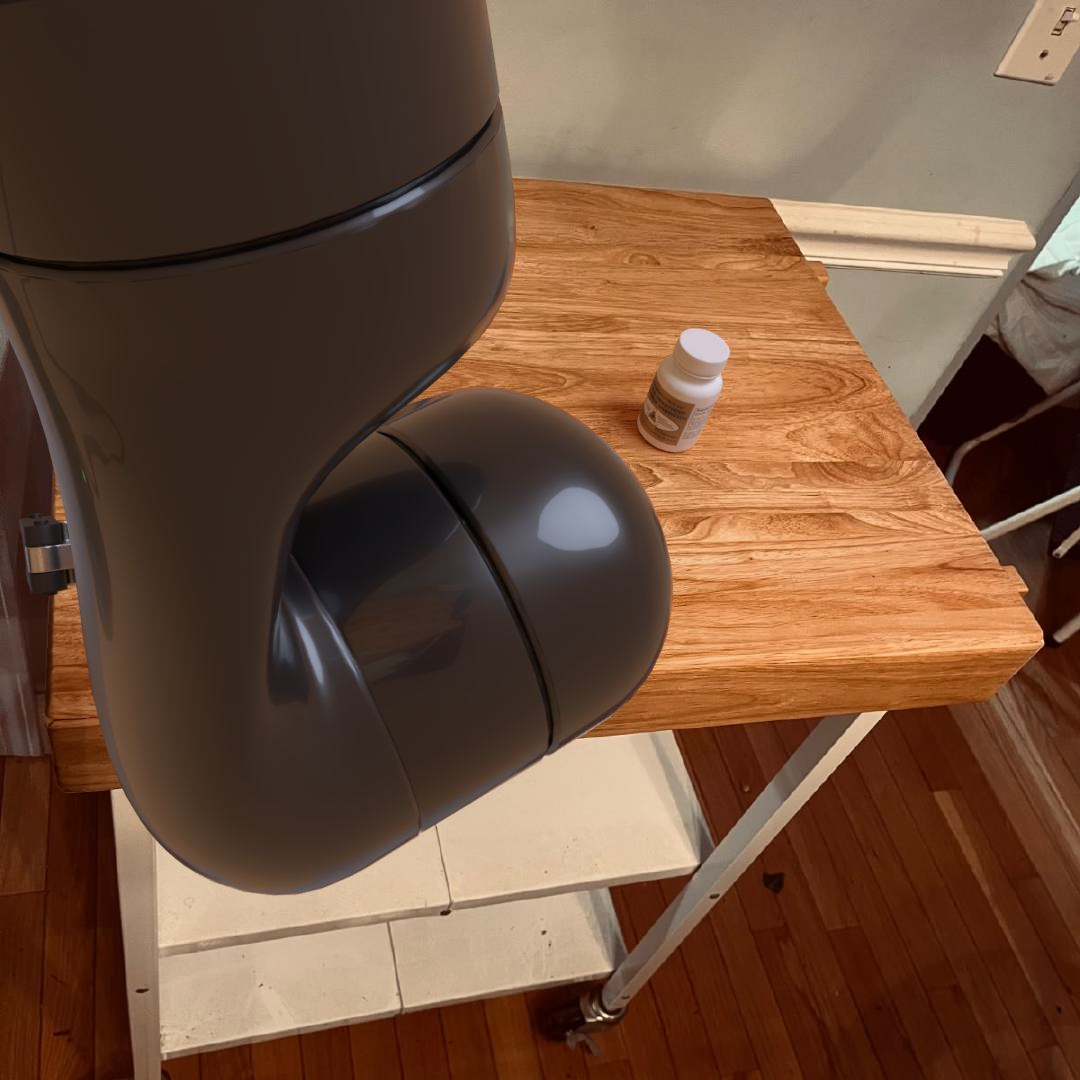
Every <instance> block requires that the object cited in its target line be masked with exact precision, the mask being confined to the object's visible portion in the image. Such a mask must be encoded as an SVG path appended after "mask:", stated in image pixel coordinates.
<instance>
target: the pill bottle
mask: <svg viewBox="0 0 1080 1080" xmlns="http://www.w3.org/2000/svg"><path fill="white" fill-rule="evenodd" d="M730 354H731V351H730V347H729V345H728V343H727V342H726V341H725V340H724V339H723V338H722V337H721V336H720V335H718V334H716V333H715V332H713V331H710V330H707V329H704V328H699V327H697V328H694V327H693V328H687V329H685V330H683V331H682V332H681V333H680V335H679V336H678V338H677V340H676V343H675V345H674V347H673V351H672V353H671V354H667V356H665V357H664V358H663V359H662V360H661V361H660V364H659V365H658V367H657V369H656V372H655V374H654V377H653V379H652V382H651V385H650V386H649V389H648V391H647V394H646V397H645V399H644V400H643V403H642V406H641V409H640V411H639V413H638V415H637V420H636V425H637V429H638V431H639V433H640V434H641V436H642V437H643V438H644V440H646V442H648V444H651V445H652V446H653V447H655V448H657V449H659V450H662V451H665V452H668V453H682V452H686V451H688V450H690V449H692V448H693V447H694V446H695V445H696V443H697V441H698V440H699V438H700V435H701V434H702V431H703V430H704V428H705V425H706V423H707V421H708V419H709V417H710V416H711V413H712V411H713V409H714V407H715V405H716V403H717V400H718V399H719V396H720V394H721V391H722V389H723V377H722V373H723V371H724V370H725V367H726V365H727V363H728V361H729V358H730Z"/></svg>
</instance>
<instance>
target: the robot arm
mask: <svg viewBox="0 0 1080 1080" xmlns="http://www.w3.org/2000/svg"><path fill="white" fill-rule="evenodd" d="M488 12H489V11H488V4H487V0H0V322H1V324H2V327H3V329H4V332H5V334H6V336H7V338H8V341H9V342H10V344H11V347H12V349H13V351H14V353H15V356H16V358H17V361H18V362H19V365H20V367H21V370H22V372H23V374H24V377H25V380H26V382H27V386H28V388H29V391H30V394H31V397H32V399H33V402H34V404H35V407H36V410H37V413H38V416H39V419H40V423H41V425H42V426H41V427H42V430H43V433H44V435H45V439H46V442H47V443H46V444H47V447H48V451H49V455H50V460H51V463H52V467H53V470H54V475H55V479H56V483H57V487H58V490H59V495H60V499H61V502H62V503H61V504H62V507H63V511H64V515H65V519H63V520H58V519H56V518H55V517H54V516H53V515H43V513H42V512H39V513H38V512H37V513H29V514H27V516H28V517H24V518H23V517H22V518H19V519H18V524H19V531H20V533H21V538H22V545H23V553H24V561H25V568H24V569H25V577H26V582H27V584H28V587H29V590H30V593H31V594H34V595H35V594H36V595H40V594H42V596H43V597H50V596H56V595H59V592H63V591H66V590H69V586H70V587H71V586H75V587H76V595H77V602H78V603H77V604H78V611H79V618H80V625H81V632H82V639H83V646H84V653H85V661H86V666H87V673H88V680H89V685H90V690H91V694H92V699H93V703H94V706H95V711H96V714H97V718H98V723H99V726H100V731H101V734H102V739H103V742H104V745H105V749H106V753H107V755H108V757H109V760H110V762H111V765H112V767H113V770H114V772H115V775H116V778H117V780H118V783H119V785H120V787H121V789H122V791H123V793H124V795H125V797H126V799H127V801H128V802H129V804H130V805H131V807H132V809H133V811H134V812H135V815H136V816H137V817H138V819H139V821H140V822H141V823H142V825H143V826H144V828H145V829H146V830H147V831H148V833H149V834H150V835H151V836H152V837H153V839H154V840H155V841H156V842H157V844H159V846H161V847H162V849H164V850H165V852H167V853H168V854H169V855H170V856H172V858H174V859H175V860H176V861H177V862H179V863H180V864H181V865H182V866H184V867H186V868H187V869H188V870H190V871H192V872H193V873H194V874H197V875H198V876H200V877H203V878H204V879H206V880H209V881H210V882H212V883H214V884H217V885H220V886H223V887H227V888H231V889H234V890H236V891H240V892H242V893H243V892H244V893H250V894H258V895H264V896H272V897H274V896H275V897H277V896H278V897H279V896H296V895H303V894H307V893H311V892H314V891H319V890H323V889H325V888H328V887H329V886H332V885H335V884H337V883H339V882H342V881H344V880H346V879H349V878H351V877H353V876H355V875H357V874H358V873H360V872H362V871H364V870H366V869H368V868H370V867H372V866H373V865H374V864H376V863H378V862H379V861H381V860H383V859H384V858H386V857H388V856H389V855H391V854H392V853H393V852H395V851H397V850H399V849H400V848H402V847H404V846H405V845H406V844H408V843H410V842H411V841H413V840H416V838H418V837H419V836H420V835H421V834H423V833H425V832H427V831H428V830H429V829H431V828H433V827H434V826H436V825H437V824H440V823H441V822H442V821H444V820H446V819H448V818H449V817H451V816H452V815H455V814H456V813H458V812H459V811H461V810H463V809H464V808H466V807H467V806H469V805H471V804H472V803H475V802H476V801H477V800H479V799H481V798H482V797H484V796H486V795H487V794H490V793H491V792H492V791H494V790H496V789H498V788H499V787H501V786H503V785H504V784H505V783H507V782H509V781H511V780H512V779H514V778H516V777H517V776H519V775H521V774H522V773H523V772H526V770H529V769H530V768H532V767H533V766H535V765H537V764H539V763H540V762H542V761H543V759H544V757H548V756H551V755H553V754H556V753H557V752H558V751H560V750H561V749H564V748H565V747H566V746H569V744H571V743H573V742H574V741H576V740H578V739H579V738H581V737H583V736H584V735H586V734H588V733H589V732H590V731H592V730H593V729H595V728H596V727H598V726H599V725H600V724H602V723H604V722H605V721H607V720H609V719H610V718H611V717H612V716H613V715H614V714H616V712H618V711H619V710H620V709H621V708H622V707H624V706H625V705H626V704H628V702H629V701H630V700H632V698H633V697H634V695H635V694H636V693H637V691H639V689H640V688H641V687H642V686H643V684H644V683H646V681H647V680H648V678H649V676H650V675H651V673H652V671H653V670H654V668H655V666H656V663H657V661H658V659H659V657H660V656H661V653H662V651H663V649H664V646H665V643H666V640H667V637H668V632H669V627H670V623H671V617H672V610H673V600H674V577H673V568H672V561H671V557H670V552H669V547H668V543H667V539H666V535H665V532H664V529H663V526H662V524H661V520H660V518H659V516H658V513H657V511H656V509H655V506H654V504H653V501H652V500H651V498H650V496H649V494H648V492H647V490H646V489H645V487H644V485H643V484H642V482H641V480H640V479H639V478H638V476H637V475H636V474H635V472H634V471H633V469H632V468H631V467H630V466H629V465H628V463H627V462H626V460H624V458H623V457H622V456H621V455H620V453H618V452H617V451H616V450H615V449H614V448H613V447H612V446H611V444H609V442H608V441H606V439H604V438H603V437H602V436H601V435H600V434H598V433H597V432H596V431H595V430H594V429H592V428H591V427H589V426H588V425H587V424H586V423H584V422H583V421H582V420H580V419H579V418H577V417H576V416H573V415H572V414H571V413H570V412H567V411H566V410H565V409H563V408H560V407H559V406H556V405H554V404H553V403H551V402H550V401H549V402H548V401H546V400H545V399H542V398H539V397H536V396H535V395H531V394H527V393H524V392H521V391H517V390H514V389H513V390H512V389H509V388H503V387H494V386H468V387H460V388H455V389H451V390H448V391H444V392H440V393H438V394H433V395H431V396H428V397H426V398H423V399H419V400H417V401H415V400H416V398H419V396H421V395H422V394H423V393H424V392H425V391H426V390H428V389H429V388H430V387H431V386H432V385H433V384H435V383H436V382H437V381H438V380H439V379H440V378H441V377H443V376H444V375H445V374H446V373H447V372H449V371H450V370H451V369H452V368H453V367H454V365H456V363H458V361H459V360H460V359H461V358H462V357H464V355H465V354H466V353H467V352H469V350H470V349H471V348H472V347H473V346H474V345H475V344H476V343H477V342H478V341H479V340H480V339H481V338H482V336H483V335H484V334H485V332H487V330H488V329H489V327H490V326H491V324H492V323H493V321H494V320H495V318H496V316H497V314H498V312H499V311H500V309H501V307H502V305H503V303H504V301H505V299H506V297H507V293H508V291H509V287H510V285H511V282H512V280H513V279H512V278H513V275H514V274H513V273H514V267H515V263H516V253H517V218H516V217H517V216H516V215H517V214H516V196H515V189H514V181H513V173H512V172H513V171H512V163H511V156H510V149H509V143H508V142H509V141H508V137H507V130H506V124H505V118H504V117H505V116H504V111H503V106H502V103H501V98H500V92H501V91H500V86H499V79H498V72H497V71H498V70H497V65H496V64H497V63H496V59H495V52H494V46H493V45H494V44H493V38H492V31H491V24H490V18H489V13H488ZM413 401H415V402H413Z"/></svg>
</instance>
